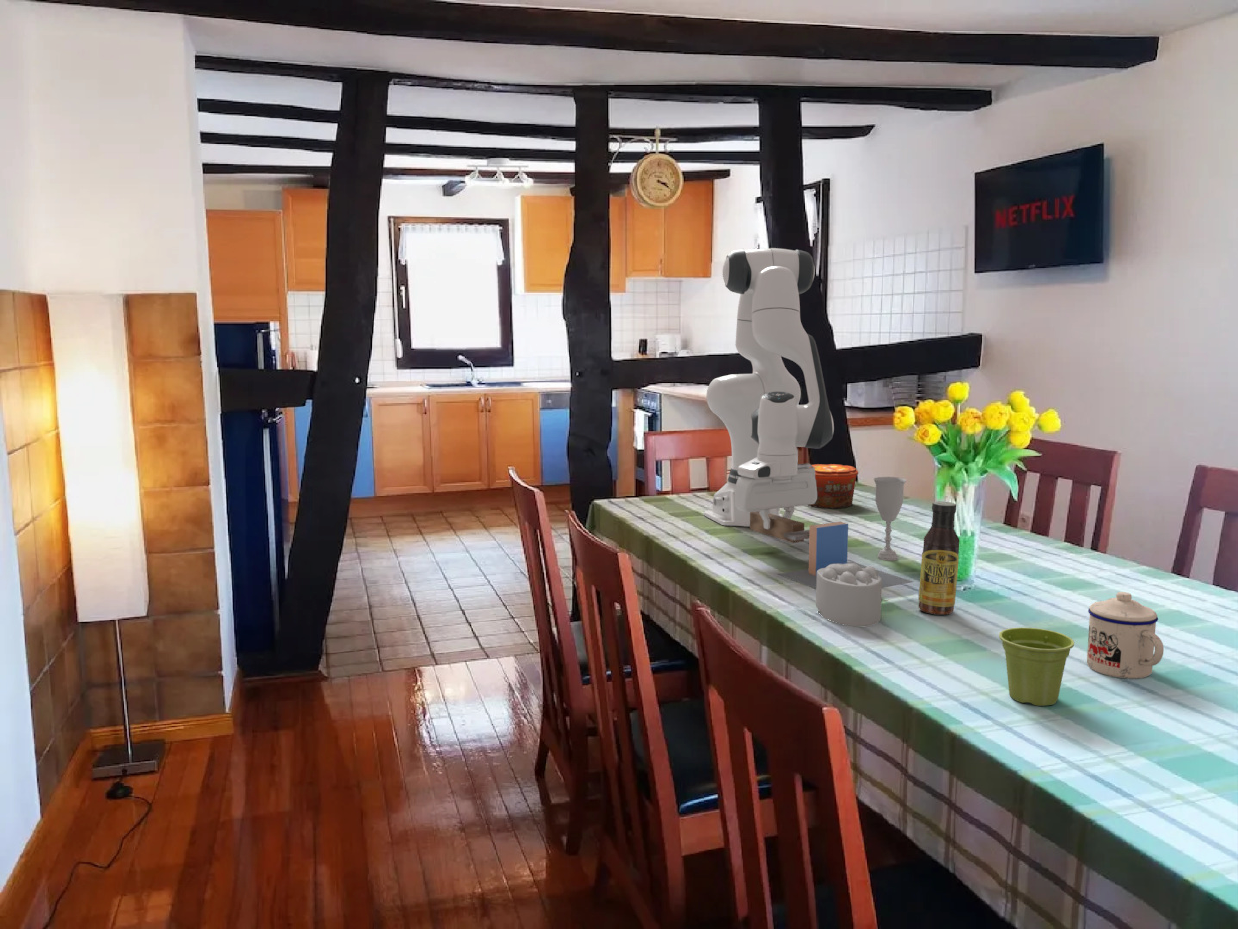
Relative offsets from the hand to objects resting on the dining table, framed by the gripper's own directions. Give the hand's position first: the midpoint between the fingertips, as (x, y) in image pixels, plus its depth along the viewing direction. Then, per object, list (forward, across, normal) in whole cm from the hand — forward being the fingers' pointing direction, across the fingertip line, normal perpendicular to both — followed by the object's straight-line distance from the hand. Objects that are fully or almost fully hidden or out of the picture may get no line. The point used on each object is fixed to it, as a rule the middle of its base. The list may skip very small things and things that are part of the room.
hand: (776, 527), depth 207 cm
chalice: (+7, -19, +15) cm, 25 cm away
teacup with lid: (+7, -3, +82) cm, 82 cm away
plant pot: (+7, +17, +82) cm, 84 cm away
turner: (+2, 0, +2) cm, 3 cm away
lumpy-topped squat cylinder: (+7, +14, +41) cm, 44 cm away
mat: (+7, 0, +23) cm, 24 cm away
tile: (+6, 0, +18) cm, 19 cm away
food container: (+7, -50, -42) cm, 66 cm away
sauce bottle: (+7, -1, +47) cm, 47 cm away
